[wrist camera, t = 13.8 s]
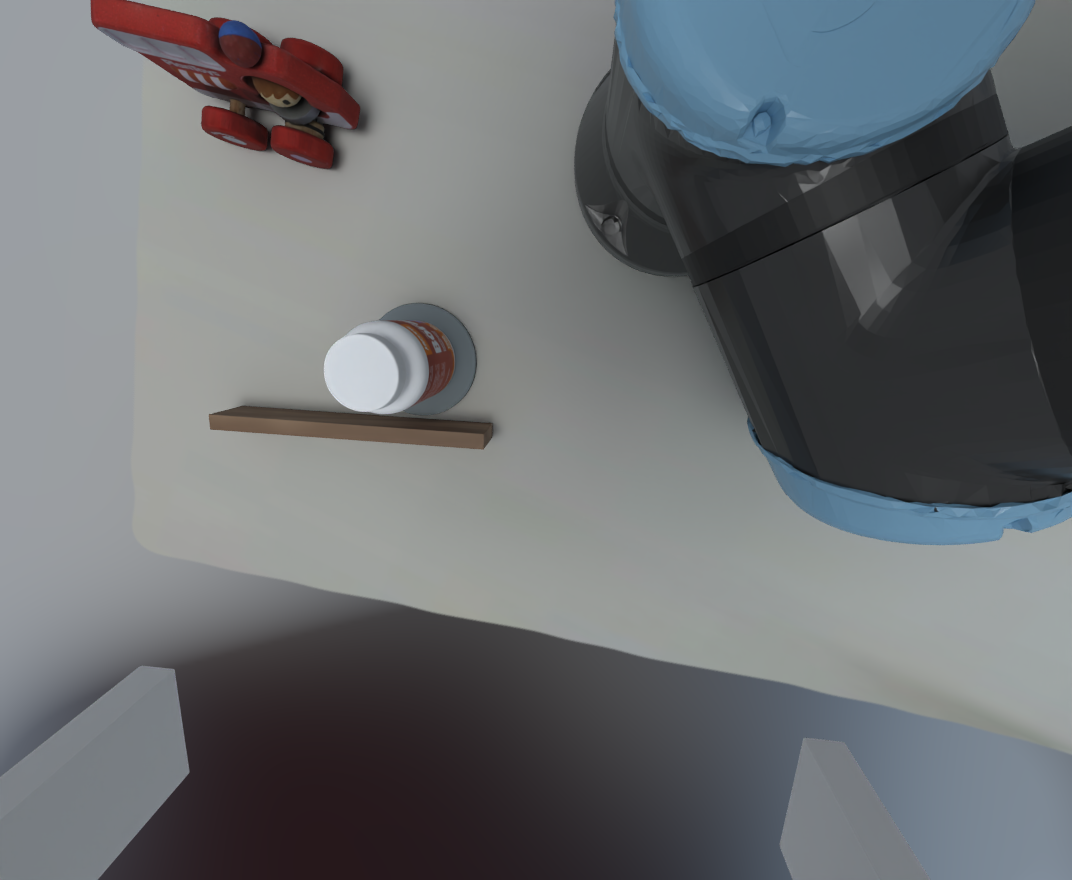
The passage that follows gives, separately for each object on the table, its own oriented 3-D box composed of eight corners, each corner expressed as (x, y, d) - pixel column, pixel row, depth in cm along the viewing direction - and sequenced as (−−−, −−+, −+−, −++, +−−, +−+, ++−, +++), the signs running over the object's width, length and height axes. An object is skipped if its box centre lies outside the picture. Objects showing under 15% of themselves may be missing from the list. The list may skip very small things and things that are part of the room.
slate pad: (367, 300, 40) (364, 300, 39) (477, 306, 39) (476, 306, 39) (370, 410, 42) (367, 411, 41) (475, 417, 41) (473, 418, 41)
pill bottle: (468, 339, 39) (426, 346, 28) (441, 408, 41) (393, 440, 30) (396, 307, 39) (327, 303, 28) (372, 378, 41) (298, 400, 30)
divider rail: (242, 405, 43) (208, 414, 39) (492, 423, 41) (483, 434, 37) (243, 419, 43) (210, 429, 39) (492, 437, 42) (483, 449, 38)
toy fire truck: (363, 180, 38) (285, 129, 28) (209, 140, 38) (75, 75, 28) (378, 78, 36) (300, -16, 26) (216, 37, 36) (77, -72, 26)
